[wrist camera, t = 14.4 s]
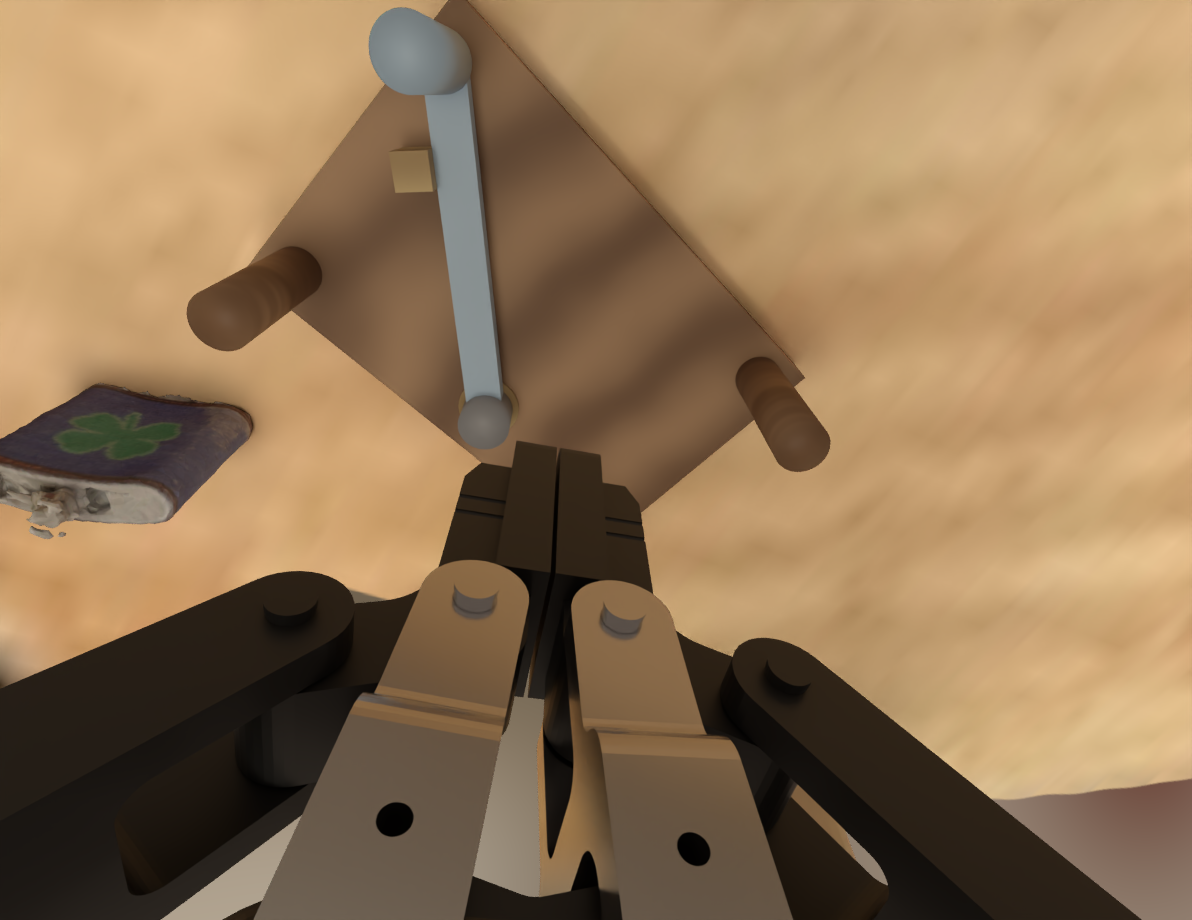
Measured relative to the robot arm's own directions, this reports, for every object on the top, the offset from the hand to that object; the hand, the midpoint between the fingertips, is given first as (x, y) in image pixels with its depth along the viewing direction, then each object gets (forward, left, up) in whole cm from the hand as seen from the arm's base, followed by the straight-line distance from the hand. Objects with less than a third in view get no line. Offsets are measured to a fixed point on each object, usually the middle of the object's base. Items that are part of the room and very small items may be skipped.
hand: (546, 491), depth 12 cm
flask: (+9, +23, -25) cm, 35 cm away
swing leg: (+3, +4, -23) cm, 23 cm away
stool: (-2, +4, -25) cm, 25 cm away
